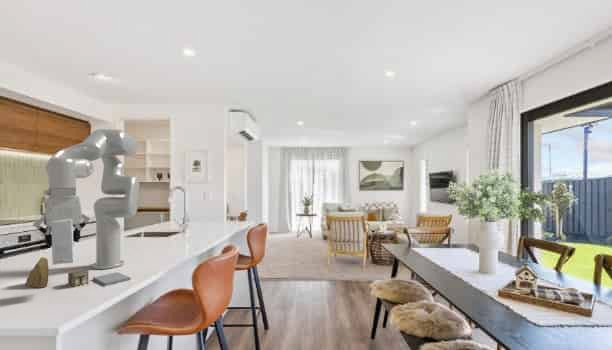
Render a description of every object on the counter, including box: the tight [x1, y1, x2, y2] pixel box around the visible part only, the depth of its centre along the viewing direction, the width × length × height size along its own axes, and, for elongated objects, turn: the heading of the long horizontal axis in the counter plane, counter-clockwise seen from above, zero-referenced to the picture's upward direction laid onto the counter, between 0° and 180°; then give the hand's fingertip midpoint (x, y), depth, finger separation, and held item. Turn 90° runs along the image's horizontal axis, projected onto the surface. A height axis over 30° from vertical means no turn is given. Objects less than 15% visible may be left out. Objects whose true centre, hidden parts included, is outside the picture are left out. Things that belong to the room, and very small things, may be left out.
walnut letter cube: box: [67, 268, 89, 288], centre depth 121 cm, size 5×5×5 cm
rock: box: [24, 257, 49, 288], centre depth 120 cm, size 11×9×10 cm
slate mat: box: [92, 271, 131, 287], centre depth 127 cm, size 12×9×1 cm
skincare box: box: [51, 220, 76, 265], centre depth 112 cm, size 8×6×15 cm
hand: (63, 243), depth 112 cm, fingers closed on skincare box, 7 cm apart
